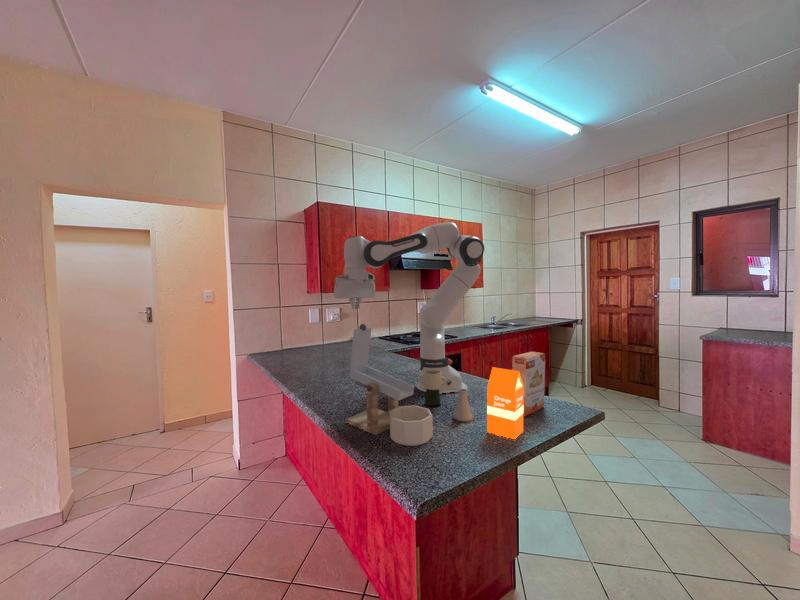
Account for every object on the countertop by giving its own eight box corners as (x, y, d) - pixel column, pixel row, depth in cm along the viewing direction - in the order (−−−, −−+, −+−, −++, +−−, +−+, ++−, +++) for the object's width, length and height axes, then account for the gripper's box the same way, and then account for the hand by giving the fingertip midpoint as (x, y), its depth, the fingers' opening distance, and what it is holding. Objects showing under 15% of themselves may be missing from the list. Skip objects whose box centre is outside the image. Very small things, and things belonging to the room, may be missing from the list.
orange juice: (496, 424, 105) (496, 364, 104) (523, 431, 100) (524, 368, 99) (486, 432, 99) (486, 369, 98) (514, 440, 94) (515, 374, 93)
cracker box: (526, 417, 110) (526, 358, 109) (510, 412, 115) (510, 355, 114) (545, 408, 119) (546, 352, 118) (530, 403, 124) (530, 350, 123)
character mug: (448, 402, 125) (448, 370, 125) (444, 409, 118) (444, 375, 118) (421, 399, 129) (421, 368, 128) (416, 405, 122) (416, 372, 122)
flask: (458, 423, 106) (458, 394, 106) (449, 415, 113) (449, 387, 113) (477, 421, 108) (477, 392, 107) (467, 413, 115) (467, 385, 114)
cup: (427, 425, 104) (427, 404, 104) (435, 444, 92) (435, 420, 91) (389, 427, 103) (388, 406, 103) (391, 446, 91) (391, 422, 90)
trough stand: (345, 423, 107) (345, 379, 106) (374, 411, 117) (373, 371, 116) (375, 435, 98) (375, 387, 97) (403, 421, 108) (402, 377, 108)
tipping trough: (347, 382, 110) (353, 324, 107) (363, 377, 116) (368, 322, 113) (397, 406, 96) (405, 340, 93) (412, 400, 101) (419, 337, 98)
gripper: (340, 274, 121) (341, 310, 121) (377, 276, 137) (377, 308, 137) (330, 275, 125) (330, 310, 125) (367, 276, 141) (367, 307, 141)
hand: (355, 309), depth 131 cm, fingers closed
